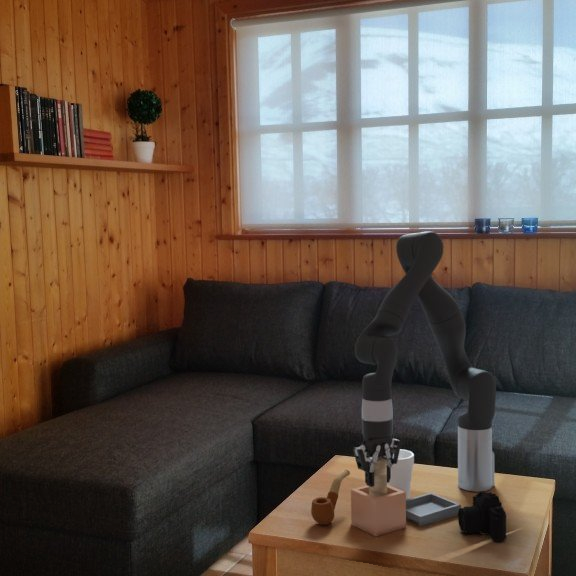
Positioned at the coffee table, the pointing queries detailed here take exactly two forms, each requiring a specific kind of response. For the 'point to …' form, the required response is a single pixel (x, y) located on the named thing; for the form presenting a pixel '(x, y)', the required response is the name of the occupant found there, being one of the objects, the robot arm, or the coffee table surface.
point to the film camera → (484, 516)
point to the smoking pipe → (327, 502)
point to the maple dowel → (379, 478)
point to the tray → (430, 509)
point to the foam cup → (402, 472)
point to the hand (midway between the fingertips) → (377, 483)
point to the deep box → (378, 510)
